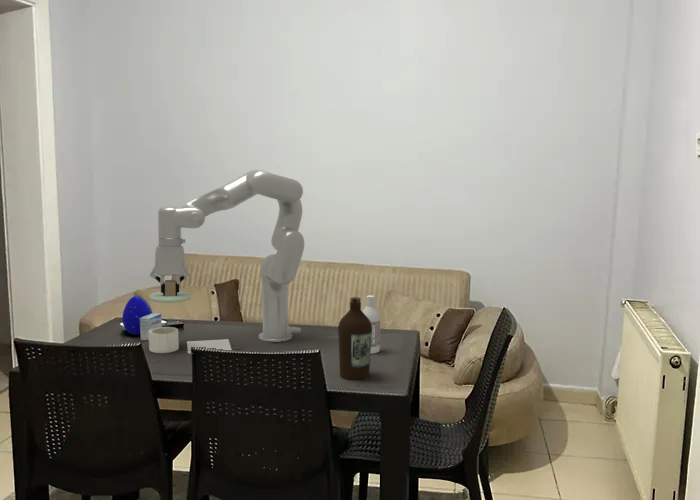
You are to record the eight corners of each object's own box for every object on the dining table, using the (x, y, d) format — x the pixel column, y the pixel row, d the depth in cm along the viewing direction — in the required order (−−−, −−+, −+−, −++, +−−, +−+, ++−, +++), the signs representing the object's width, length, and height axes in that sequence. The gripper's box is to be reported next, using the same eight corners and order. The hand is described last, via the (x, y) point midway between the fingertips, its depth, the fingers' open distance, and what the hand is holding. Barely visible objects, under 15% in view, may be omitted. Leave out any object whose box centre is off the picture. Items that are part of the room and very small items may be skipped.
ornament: (156, 331, 271) (155, 293, 269) (147, 338, 262) (146, 298, 259) (128, 330, 272) (127, 292, 269) (118, 337, 263) (117, 298, 260)
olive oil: (331, 372, 224) (332, 296, 221) (360, 368, 230) (361, 293, 226) (348, 382, 215) (348, 303, 211) (377, 377, 220) (378, 299, 217)
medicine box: (150, 341, 258) (150, 318, 256) (140, 340, 259) (139, 317, 258) (162, 335, 265) (161, 313, 264) (152, 334, 266) (151, 312, 265)
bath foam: (382, 353, 246) (382, 297, 243) (363, 354, 244) (363, 298, 241) (376, 347, 252) (377, 293, 249) (357, 349, 251) (358, 294, 248)
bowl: (178, 345, 253) (177, 326, 252) (178, 353, 243) (178, 333, 242) (149, 346, 250) (149, 327, 249) (149, 355, 241) (148, 335, 240)
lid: (190, 293, 253) (190, 276, 252) (191, 302, 240) (191, 284, 239) (149, 294, 250) (149, 277, 249) (149, 303, 236) (148, 285, 235)
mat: (228, 340, 260) (228, 339, 260) (231, 352, 245) (231, 350, 245) (186, 342, 256) (186, 341, 256) (188, 354, 242) (188, 353, 242)
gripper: (193, 241, 248) (193, 292, 250) (145, 241, 243) (145, 293, 246) (194, 244, 240) (194, 296, 243) (144, 244, 236) (145, 297, 239)
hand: (170, 294), depth 244 cm, fingers closed on lid, 3 cm apart
